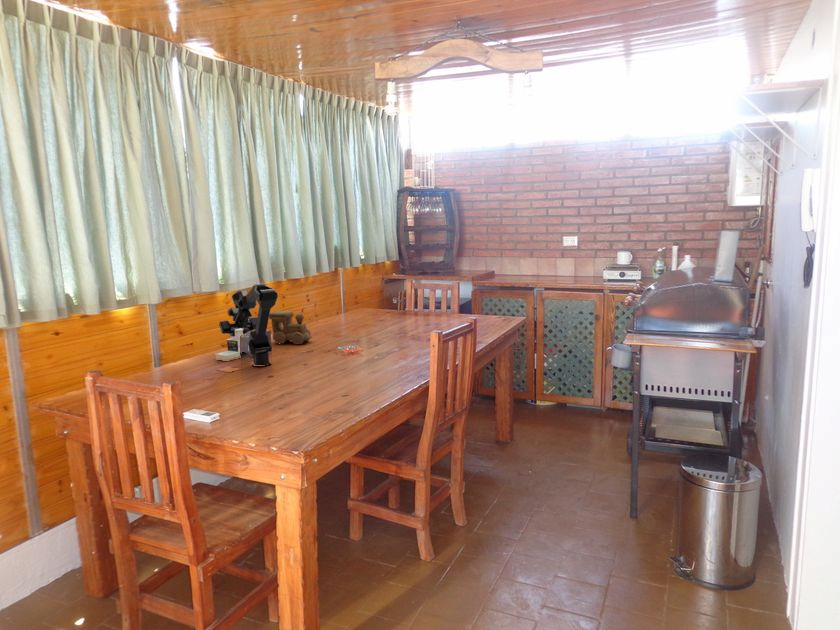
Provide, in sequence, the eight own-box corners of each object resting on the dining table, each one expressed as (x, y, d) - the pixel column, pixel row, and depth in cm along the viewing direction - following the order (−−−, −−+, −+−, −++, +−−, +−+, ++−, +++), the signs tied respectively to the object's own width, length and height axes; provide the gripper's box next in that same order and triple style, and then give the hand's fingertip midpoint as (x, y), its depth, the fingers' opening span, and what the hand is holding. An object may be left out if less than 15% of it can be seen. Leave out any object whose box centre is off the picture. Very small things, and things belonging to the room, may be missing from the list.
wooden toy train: (269, 344, 313) (267, 313, 311) (279, 340, 324) (277, 310, 321) (304, 345, 309) (303, 314, 306) (313, 341, 320) (311, 310, 317)
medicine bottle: (227, 353, 292) (225, 329, 290) (238, 350, 298) (236, 327, 297) (238, 354, 289) (236, 330, 287) (248, 351, 295) (247, 327, 293)
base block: (240, 358, 285) (239, 352, 284) (227, 361, 278) (226, 355, 278) (229, 356, 289) (228, 350, 288) (215, 360, 282) (215, 353, 282)
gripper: (256, 300, 291) (249, 320, 302) (218, 305, 280) (213, 325, 291) (263, 318, 286) (256, 337, 297) (225, 323, 275) (219, 343, 286)
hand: (236, 335), depth 293 cm, fingers closed on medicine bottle, 6 cm apart
